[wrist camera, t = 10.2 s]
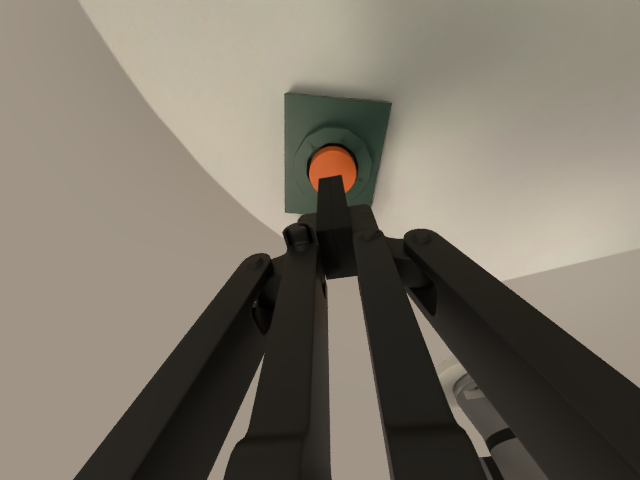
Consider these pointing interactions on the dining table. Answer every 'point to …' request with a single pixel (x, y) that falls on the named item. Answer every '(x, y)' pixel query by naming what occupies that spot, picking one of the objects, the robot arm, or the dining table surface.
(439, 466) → the robot arm
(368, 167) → the alarm box
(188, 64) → the dining table surface
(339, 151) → the alarm button
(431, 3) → the dining table surface
